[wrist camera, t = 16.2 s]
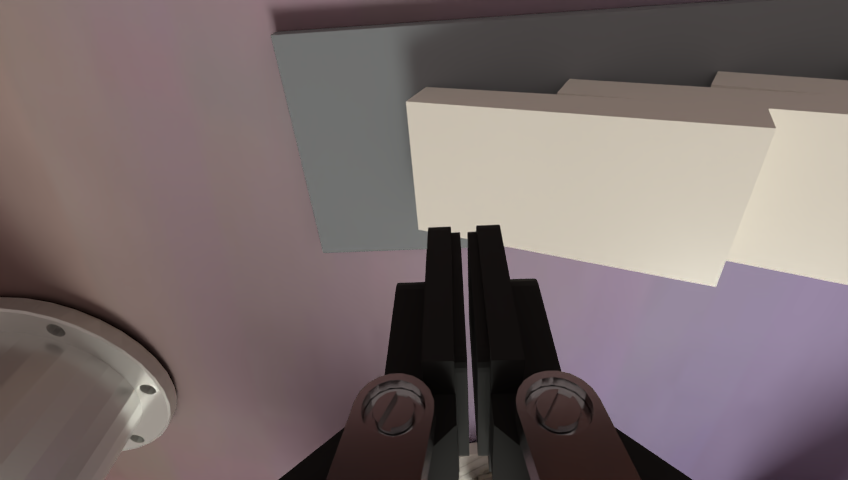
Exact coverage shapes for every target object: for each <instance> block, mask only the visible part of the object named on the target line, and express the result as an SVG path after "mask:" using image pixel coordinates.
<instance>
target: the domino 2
mask: <svg viewBox="0 0 848 480" xmlns="http://www.w3.org/2000/svg"><path fill="white" fill-rule="evenodd" d="M557 94H558V95H575V96H592V97H610V98H627V99H644V100H662V101H679V102H696V103H714V104H731V105H748V106H765V107H768V109H769V112H770V114H771V117H772V119H773V122H774V124H775V126H776V131H775V133H774V136H773V138H772V141H771V144H770V146H769V149H768V152H767V154H766V157H765V159H764V162H763V165H762V167H761V170H760V173H759V175H758V178H757V180H756V183H755V186H754V188H753V191H752V193H751V196H750V199H749V201H748V204H747V207H746V209H745V212H744V214H743V217H742V220H741V222H740V225H739V228H738V230H737V233H736V235H735V238H734V241H733V243H732V246H731V249H730V251H729V254H728V256H727V259H726V261H731V262H736V263H741V264H746V265H751V266H756V267H761V268H766V269H771V270H776V271H781V272H786V273H791V274H796V275H801V276H806V277H811V278H815V279H820V280H825V281H830V282H835V283H840V284H845V285H848V96H845V95H829V94H812V93H796V92H779V91H763V90H746V89H730V88H713V87H697V86H680V85H664V84H647V83H631V82H614V81H598V80H581V79H569V80H568V81H567V82H566V83H565V84H564V86H563V87H562V88H561V89H560V90H559V91H558V92H557Z"/></svg>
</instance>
